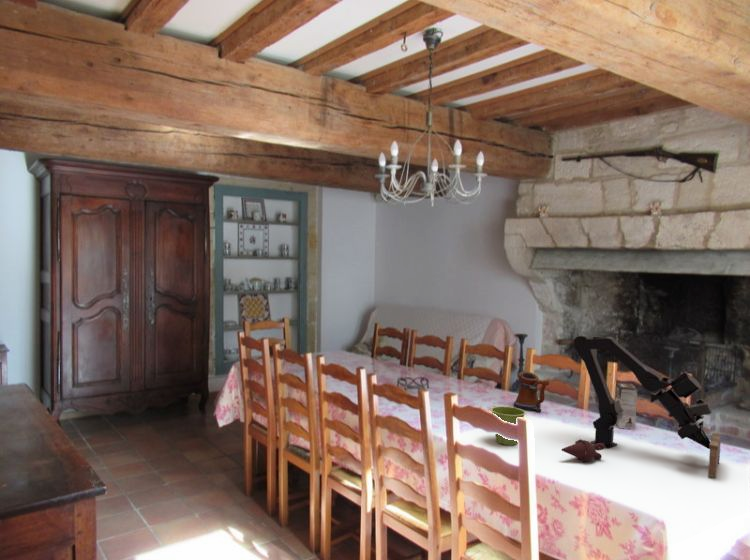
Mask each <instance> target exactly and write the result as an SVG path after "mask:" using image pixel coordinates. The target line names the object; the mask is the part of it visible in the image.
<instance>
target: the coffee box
mask: <svg viewBox="0 0 750 560" xmlns="http://www.w3.org/2000/svg"><path fill="white" fill-rule="evenodd" d="M614 393H615V395H614V396H615V397H614V400H615V401H618V400H619V401H620V406H621V408H622V409H623V412H622V414H623V417H622V419H621V420H620V421H619V422H618V423H616V425H615V426H617V428H618V429H621V428H624V430H625V429H626V430H633V429H635V430H636V419H637V404H638V402H637V401H638V388H637V387H636V386H635V385H634V384H633V383H627V382H615V392H614ZM628 428H630V429H628Z"/></svg>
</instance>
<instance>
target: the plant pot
mask: <svg viewBox="0 0 750 560" xmlns="http://www.w3.org/2000/svg"><path fill="white" fill-rule="evenodd" d="M490 411H491V412H492V414H493V413H494V414H496V415H497V416H498V417H500V418H501V419H502V420H504V421H507V422H510V423H514V424H516V418H517V417H523V418H524V416H525V415H526V414H527V413H526V411H525V410H522V409H519V408H516V407H514V406H513V407H512V406H506V405H505V406H504V405H502V406H501V405H499V406H494V407H491V408H490ZM495 441H496V442H497V443H498V444H499V445H501V444H503V445H504V446H505V445H506V446H515V445H516V444H518V442H517V441H514V440H508V439H505V438H503V437H502V436H500V435H498V434H495Z"/></svg>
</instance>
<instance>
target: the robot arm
mask: <svg viewBox="0 0 750 560" xmlns="http://www.w3.org/2000/svg"><path fill="white" fill-rule="evenodd" d="M572 346H573V348H574V350H575V351H576V354H577V355H578V356H579V357H580V359H581V360H582V361H583V363H584V365H585V368H586V370H587V374H588V376H589V378H590V381H591V385H592V387H593V389H594V392H595V395H596V397H597V400H598V401H597V402H598V412H599V417H598V418H597V419H595V420H593V421H592V424H593V428H594V429H595V433H594V435H595V437H594V440H592V441H590V443H591V444H592V445H595V444H597V443H603V444H604V445H605V448H604V449H609V448H613V447H615V446H618V443H617V442H614V436H615V435H614V432H615V430H614V429H615V426H617V425H616V423H618V422H619V421H620V420H621V419H622V417H623V414H622V412H623V409H622V408H621V406H620V401H619V400H618V401H615V398H613V397H612V394H611V392H610V389H609V387H608V385H607V382H606V380H605V377H604V374H603V371H602V369H601V365H600V363H599V360H598V355H597V354H598V352H597V350H601V349H602V350H603V349H604V350H607V351H608V352H609V353H611V355H613V356H614V358H616V359H617V360H618V361H620V363H622V364H623V365H624V366H625V367H626V368H627V369H628V370H629V371H631V373H633V375H634V376H635V378H636V379H637V381H638V382H639V384H641V386H642V387H643V388H644V389H645V390H646V391H648V392H651V393H650V403H654V402H656V401H658V402H659V404H660V405H661V406H662V407H663V408H664V409H665V411H666V412H667V413H668V417H669V418H672V419H673V420H674V421H675V422H676V424H677V427H678V430H677V435H678V436H679V437H680V439H681V440H683V439H685V438H687V439H689V440H691V441H692V442H696V443H697V444H699V445H701V446H702V447H704V448H706V449H708V450H710V449H709V445H710V441H711V440H710V439H709V437H708V435H707V434H706V431H705V430H704V422H705V421H704V420H703V421H700V422H699V420H702V419H704V415H706V416H707V415H711V414H712V413H713V412H712V409H711V406H710V403H709V402H708V400H707V401H705V400H704V399H703V398H698V399H696V403H693V404H690V405H689V404H688V403H687V402H683V400H682V399H681V398H684V399H688V398H689V397H690V396H692V395H693V394H695V393H697V392H698V391H700V390H701V389H702V386H701V384H700V383H699V381H698V380H697V379H696V378H695V377H693V376H692V375H691V374H689V373H688V372H687V371H683V372H682V373H681V374H680V375H678V377H676V378H673V379H672V378H670V377H666V376H663V374H661V373H660V372H659V371H657V370H655V369H654V368H653V367H650V366H648V365H646V364H644V363H643V362H641V361H640V360H639V359H638V358H637V357H635V355H633V354H632V353H631V352H630V351H629V350H627V349H626V348H625V347H624V346H623V345H622V344H621V343H619V342H618V341H617V340H616V339H615V337H613V336H592V335H590V334H586V333H585V334H582V335H578V336H576V337H575V338H574V340H573V342H572ZM670 386H671V387H670ZM668 387H669V388H668ZM667 388H668V389H667ZM660 389H661V390H660ZM658 390H659V391H658ZM655 391H657V392H656V393H655Z"/></svg>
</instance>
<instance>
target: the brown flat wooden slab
mask: <svg viewBox="0 0 750 560" xmlns="http://www.w3.org/2000/svg"><path fill="white" fill-rule="evenodd" d="M715 433H716V432H712V434H711V438H710V440H709V441H710V445H709V449H708V450H709V458H708V459H709V461H708V474H707V475H708V477H711V478H716V476H717V471H718V465H719V464H718V455H719V442H720V433H718V434H715Z"/></svg>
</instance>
